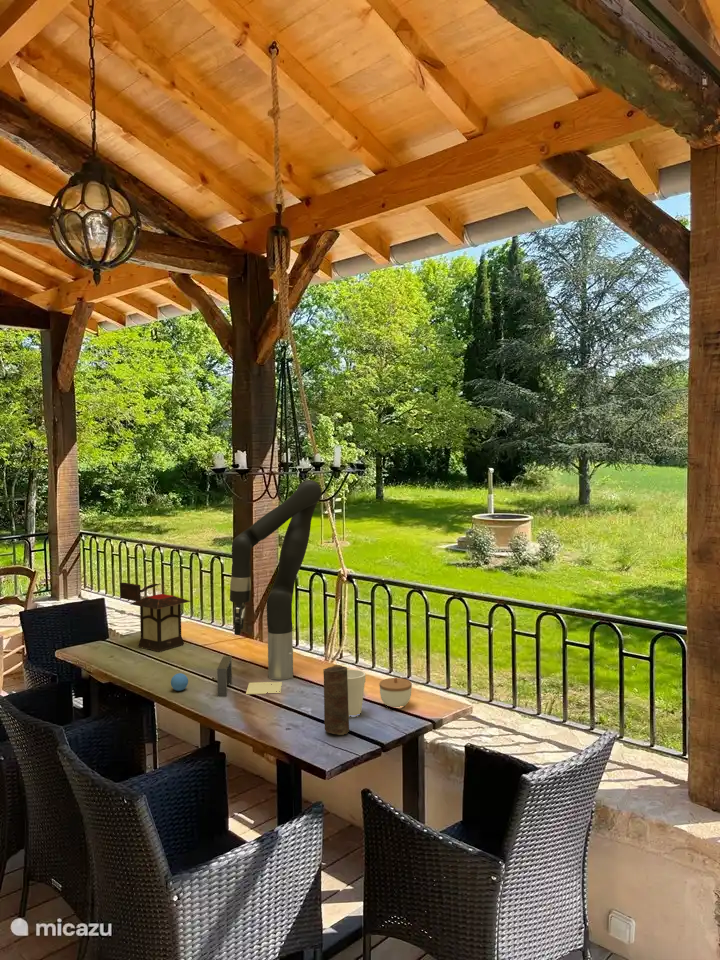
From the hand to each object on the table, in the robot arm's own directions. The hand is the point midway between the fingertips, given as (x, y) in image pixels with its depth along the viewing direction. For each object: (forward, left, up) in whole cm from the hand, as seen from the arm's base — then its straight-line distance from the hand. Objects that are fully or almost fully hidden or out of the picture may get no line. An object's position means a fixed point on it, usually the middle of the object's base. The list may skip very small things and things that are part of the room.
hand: (238, 631), depth 264 cm
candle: (-35, +54, -18) cm, 67 cm away
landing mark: (-10, +12, -18) cm, 24 cm away
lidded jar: (-55, +33, -18) cm, 67 cm away
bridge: (+4, +12, -18) cm, 22 cm away
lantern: (+42, -44, -18) cm, 63 cm away
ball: (+20, +12, -15) cm, 27 cm away
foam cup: (-40, +39, -18) cm, 59 cm away
